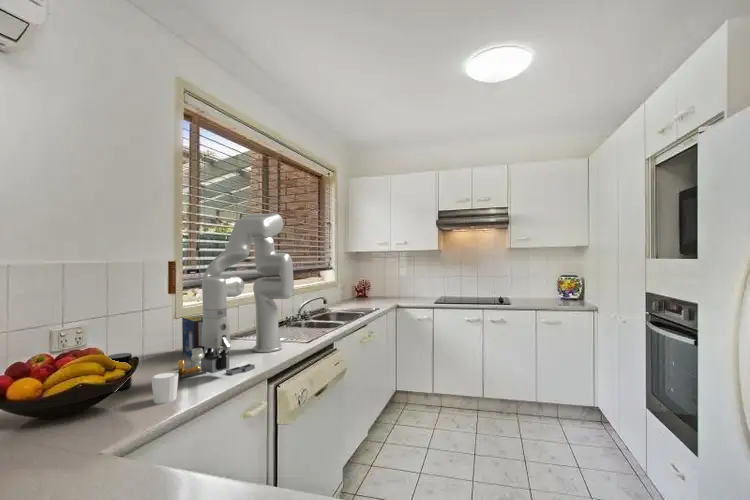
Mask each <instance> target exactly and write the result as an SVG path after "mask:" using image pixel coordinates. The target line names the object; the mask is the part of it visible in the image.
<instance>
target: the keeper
mask: <svg viewBox="0 0 750 500" xmlns="http://www.w3.org/2000/svg"><path fill="white" fill-rule="evenodd" d="M177 362H178V363H177V365H178V367H177V368H178V369H177V371H176V373H178V382H179V381H182V380H187V379H190V378H192V377H193V378H194V377H197V376H201V375H204V374H205V375H206V374H207V372H205V371H201V367H200V366H196V367H192V366H191V367H189V368H185V359H180V360H178V361H177Z"/></svg>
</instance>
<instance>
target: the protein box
mask: <svg viewBox="0 0 750 500" xmlns="http://www.w3.org/2000/svg"><path fill="white" fill-rule="evenodd" d="M181 324H182V325H181V330H182V331H181V332H182V333H181V334H182V336H181V337H182V344H181V345H182V353H183V354H185V355H186V356H188V357H190V358H191V357H192V355H193V354H192V349H195V348H198V347H199V346H202V345H201V343H200V342H201V340H202V324H203V314H201V315H200V314H198V315H192V316H191V315H189V316H182V319H181ZM213 350H214V355H217V351H216V349H213Z"/></svg>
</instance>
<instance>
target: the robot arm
mask: <svg viewBox="0 0 750 500" xmlns="http://www.w3.org/2000/svg"><path fill="white" fill-rule="evenodd" d="M283 228H284V220H283V217H282V216H281V215H280V214H279V213H252V214H251V213H250V214H247V215H244V216H243V217H242V218H239V219H237V220H236V221H235V223H234V225H233V227H232V230H231V233H230V236H229V240H228V242H227V246H226V248H225V249H224V250H223V251H222V252H221V253H220V254H218V255H217V256H216V257H214V259H213V260H212V261H211V262H210V263H209V265H208V266H207V268H206V270H205V273H204V275H203V279H202V282H201V290H202V315H203V324H202V340H201V342H200V343H201V345H202V349H203V350H204V352H203V354H204V358H205V357H210V356H214V353H213V349H216V351H217V355H218V358H217V370H221V369H225V368H226V356H228V354H229V352H230V350H231V348H232V347H231V332H230V331H231V330H230V325H229V320H228V318H227V316H228V315H227V313H228V311H227V310H228V308H227V306H228V305H227V304H228V302H227V298H235V297H238V296H240V295H241V294H243V292H244V290H245V282H244V280H243V279H242V278H241V277H239V276H237V275H221V274H222V273H223V272H224V271H225V270H227V269H228V268H229V267H232V266H235V265H237V264H238V263H242V262H243V261H245V260H246V259H247V258H249V256H250V253H251V249H252V246H253V247H254V261H255V262H254V263H255V271H256V272H257V273H258V274H259V275H265V276H266V275H270V277H267V276H266V277H260V278H258V279H256V280H255V281H254V283H253V287H252V288H253V289H252V290H253V295H254V303H255V345H254V346H253V347H252V352H255V353H272V352H278V351H280V350H282V349H283V345H282V343H285V342H287V337H280V336H279V308H278V305H277V303H276V302H275V301H274V300H287V299H291V298H292V296H293V295H294V290H295V288H294V283H295V282H294V267H293V266H294V265H293V260H292V257H291V255H290V254H289V253H287V252H276V250H275V242H274V241H275V240H274V239H273V238H274V237H275V236H276V235H279V234H280V232H282V230H283ZM273 236H274V237H273ZM271 275H274V276H275V275H279V277H276V276H275V277H274V276H273V277H271Z"/></svg>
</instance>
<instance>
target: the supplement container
mask: <svg viewBox="0 0 750 500" xmlns="http://www.w3.org/2000/svg"><path fill="white" fill-rule="evenodd" d="M107 356H108V357H109V358H111V359H112V360H115V361H119V362H126V363H128V362H129V360H131V359H133V354H132V353H131V352H120V353H113V354H110V355H107ZM132 380H133V375H132V376H131V377H130V378H129V379H128V380H127V381H126V382H125V383H124V384H123V385H122V386H121V387H120V388H119V389H118V390H117V391H121V392H124V391H123V390H125V391H127V390H129V389H131V387H132V385H133V383H132V382H133V381H132ZM117 391H116V392H115V393H118V392H117Z"/></svg>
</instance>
